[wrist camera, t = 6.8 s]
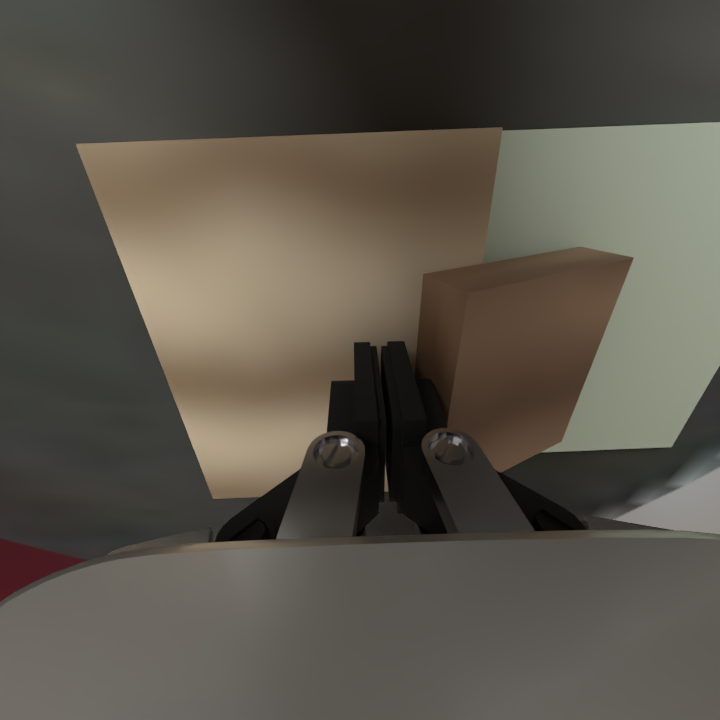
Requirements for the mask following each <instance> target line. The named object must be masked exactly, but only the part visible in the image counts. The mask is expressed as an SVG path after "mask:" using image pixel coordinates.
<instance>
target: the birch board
mask: <svg viewBox="0 0 720 720" xmlns="http://www.w3.org/2000/svg"><path fill="white" fill-rule="evenodd" d="M502 129H503V127H496V128H470V129H445V130H420V131H394V132H369V133H344V134H318V135H293V136H268V137H242V138H217V139H192V140H166V141H141V142H116V143H90V144H76V146H77V149H78V152H79V154H80V157H81V159H82V162H83V164H84V167H85V170H86V172H87V175H88V177H89V180H90V183H91V185H92V188H93V190H94V193H95V195H96V198H97V201H98V203H99V206H100V208H101V211H102V213H103V216H104V219H105V221H106V224H107V226H108V229H109V231H110V234H111V237H112V239H113V242H114V244H115V247H116V250H117V252H118V255H119V257H120V260H121V262H122V265H123V268H124V270H125V273H126V275H127V278H128V280H129V283H130V286H131V288H132V291H133V293H134V296H135V299H136V301H137V304H138V306H139V309H140V311H141V314H142V317H143V319H144V322H145V324H146V327H147V329H148V332H149V335H150V337H151V340H152V342H153V345H154V347H155V350H156V353H157V355H158V358H159V360H160V363H161V366H162V368H163V371H164V373H165V376H166V378H167V381H168V384H169V386H170V389H171V391H172V394H173V396H174V399H175V402H176V404H177V407H178V409H179V412H180V415H181V417H182V420H183V422H184V425H185V427H186V430H187V433H188V435H189V438H190V440H191V443H192V445H193V448H194V451H195V453H196V456H197V458H198V461H199V464H200V466H201V469H202V471H203V474H204V476H205V479H206V482H207V484H208V487H209V489H210V492H211V494H212V497H213V499H219V498H243V497H262V496H263V495H264V494H266V493H267V492H269V491H270V490H271V489H273V488H274V487H276V486H277V485H278V484H280V483H281V482H282V481H284V480H285V479H287V478H288V477H289V476H291V475H292V474H294V473H295V472H296V471H298V470H299V469H301V466H302V463H303V460H304V457H305V454H306V452H307V449H308V447H309V445H310V443H311V442H312V441H313V440H314V439H315V438H316V437H318V436H320V435H322V434H324V433H327V423H328V411H329V400H330V389H331V381H343V380H354V342H370V346H377V354H378V361H379V369H380V376H381V346H387V342H388V341H404V342H405V345H406V349H407V352H408V356H409V359H410V363H411V366H412V370H413V373H415V362H416V350H417V339H418V328H419V316H420V305H421V293H422V282H423V274H426V273H432V272H438V271H443V270H449V269H455V268H461V267H466V266H472V265H478V264H483V257H484V250H485V244H486V237H487V230H488V223H489V217H490V210H491V203H492V196H493V190H494V183H495V176H496V169H497V163H498V156H499V149H500V142H501V136H502ZM384 492H388V483H387V474H386V465H385V489H384Z"/></svg>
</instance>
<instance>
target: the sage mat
mask: <svg viewBox="0 0 720 720" xmlns="http://www.w3.org/2000/svg"><path fill="white" fill-rule="evenodd" d="M575 247H585V248H590V249H595V250H600V251H605V252H610V253H614V254H619V255H624V256H629V257H634V259H633V261H632V264H631V266H630V269H629V272H628V274H627V277H626V279H625V282H624V284H623V287H622V289H621V292H620V294H619V297H618V299H617V302H616V305H615V307H614V310H613V312H612V315H611V317H610V320H609V322H608V325H607V327H606V330H605V332H604V335H603V338H602V340H601V343H600V345H599V348H598V350H597V353H596V355H595V358H594V360H593V363H592V366H591V368H590V371H589V373H588V376H587V378H586V381H585V383H584V386H583V388H582V391H581V393H580V396H579V399H578V401H577V404H576V406H575V409H574V411H573V414H572V416H571V419H570V421H569V424H568V426H567V429H566V432H565V434H564V437H563V439H562V442H560V443H558V444H556V445H554V446H552V447H550V448H548V449H546V450H544V451H542V452H564V451H588V450H613V449H637V448H661V447H672V445H673V444H674V442H675V440H676V439H677V437H678V435H679V434H680V432H681V430H682V428H683V427H684V425H685V423H686V422H687V420H688V418H689V417H690V415H691V413H692V412H693V410H694V408H695V406H696V405H697V403H698V401H699V400H700V398H701V396H702V395H703V393H704V391H705V390H706V388H707V386H708V384H709V383H710V381H711V379H712V378H713V376H714V374H715V373H716V371H717V369H718V368H719V366H720V122H711V123H685V124H660V125H635V126H609V127H584V128H559V129H533V130H508V131H502V136H501V142H500V149H499V156H498V163H497V169H496V176H495V183H494V190H493V196H492V203H491V210H490V217H489V223H488V230H487V237H486V244H485V250H484V257H483V264H484V263H489V262H495V261H501V260H506V259H512V258H518V257H524V256H529V255H535V254H541V253H547V252H552V251H558V250H564V249H570V248H575Z"/></svg>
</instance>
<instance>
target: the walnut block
mask: <svg viewBox="0 0 720 720" xmlns="http://www.w3.org/2000/svg"><path fill="white" fill-rule="evenodd" d="M633 259H634V257H629V256H624V255H619V254H614V253H610V252H605V251H600V250H595V249H590V248H585V247H575V248H570V249H564V250H558V251H552V252H547V253H541V254H535V255H529V256H524V257H518V258H512V259H506V260H501V261H495V262H489V263H484V264H478V265H472V266H466V267H461V268H455V269H449V270H443V271H438V272H432V273H426V274H423V282H422V293H421V305H420V316H419V328H418V339H417V350H416V362H415V373H414V377H415V379H420V378H429V379H431V382H432V384H433V387H434V390H435V393H436V395H437V398H438V401H439V404H440V407H441V409H442V412H443V415H444V418H445V421H446V424H447V426H448V428H451V429H457V430H460V431H462V432H465V433H466V434H468V435H469V436H471V437H472V438H473V439H474V440H475V441H476V442H477V443H478V444H479V446H480V448H481V449H482V451H483V452H484V454H485V455H486V457H487V458H488V460H489V461H490V463H491V464H492V466H493V467H494V469H495V470H497V471H498V472H500V473H501V472H503V471H505V470H507V469H509V468H511V467H513V466H515V465H517V464H519V463H521V462H523V461H524V460H526V459H528V458H530V457H532V456H534V455H536V454H538V453H540V452H542V451H544V450H546V449H548V448H550V447H552V446H554V445H556V444H558V443H560V442H562V439H563V437H564V434H565V432H566V429H567V426H568V424H569V421H570V419H571V416H572V414H573V411H574V409H575V406H576V404H577V401H578V399H579V396H580V393H581V391H582V388H583V386H584V383H585V381H586V378H587V376H588V373H589V371H590V368H591V366H592V363H593V360H594V358H595V355H596V353H597V350H598V348H599V345H600V343H601V340H602V338H603V335H604V332H605V330H606V327H607V325H608V322H609V320H610V317H611V315H612V312H613V310H614V307H615V305H616V302H617V299H618V297H619V294H620V292H621V289H622V287H623V284H624V282H625V279H626V277H627V274H628V272H629V269H630V266H631V264H632V261H633Z"/></svg>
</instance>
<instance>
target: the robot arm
mask: <svg viewBox="0 0 720 720" xmlns="http://www.w3.org/2000/svg"><path fill="white" fill-rule="evenodd" d="M385 465H386V474H387V483H388V492H389V500H390V501H396V502H397V510H398V513H403V514H404V515H406V516H407V517H408V518H410V519H411V520H412V521H413V527H414V532H415V535H391V536H366V525H367V524H368V523H369V522H370V521H371V520H372V519H373V518H374V517H375V516H376V515H377V514H378V511H379V502H384V489H385ZM0 720H720V535H719V534H710V533H701V532H690V531H674V530H669V529H662V528H657V527H651V526H645V525H639V524H633V523H627V522H622V521H616V520H610V519H604V518H598V517H592V516H586V515H584V517H583V519H582V520H581V519H577V518H576V517H575V516H574V515H573V514H572V513H570V512H569V511H567V510H566V509H565V508H563V507H561V506H559V505H558V504H556V503H554V502H552V501H550V500H549V499H547V498H545V497H543V496H541V495H540V494H538V493H536V492H534V491H532V490H531V489H529V488H527V487H525V486H523V485H522V484H520V483H518V482H516V481H515V480H513V479H511V478H509V477H507V476H506V475H504V474H502V473H500V472H498V471H497V470H495V469H494V467H493V466H492V464H491V463H490V461H489V460H488V458H487V457H486V455H485V454H484V452H483V451H482V449H481V448H480V446H479V444H478V443H477V442H476V441H475V440H474V439H473V438H472V437H471V436H469V435H468V434H466V433H465V432H462V431H460V430H457V429H451V428H448V426H447V424H446V421H445V418H444V415H443V412H442V409H441V407H440V404H439V401H438V398H437V395H436V393H435V390H434V387H433V384H432V382H431V379H429V378H420V379H415V377H414V373H413V370H412V366H411V363H410V359H409V356H408V352H407V349H406V345H405V342H404V341H388V342H387V346H381V376H380V369H379V361H378V354H377V346H370V342H354V380H343V381H331V389H330V400H329V411H328V423H327V433H324V434H322V435H320V436H318V437H316V438H315V439H314V440H313V441H312V442H311V443H310V445H309V447H308V449H307V452H306V454H305V457H304V460H303V463H302V466H301V469H299V470H298V471H296V472H295V473H294V474H292V475H291V476H289V477H288V478H287V479H285V480H284V481H282V482H281V483H280V484H278V485H277V486H276V487H274V488H273V489H271V490H270V491H269V492H267V493H266V494H264V495H263V496H262V497H260V498H259V499H257V500H256V501H255V502H253V503H252V504H250V505H249V506H248V507H246V508H245V509H244V510H242V511H241V512H239V513H238V514H237V515H235V516H234V517H232V518H231V519H230V520H229V521H228V522H227V523H226V524H225V525H223V527H222V528H221V529H218V530H214V531H212V530H211V528H210V527H206V528H202V529H198V530H194V531H189V532H185V533H181V534H177V535H173V536H168V537H164V538H160V539H156V540H152V541H147V542H143V543H139V544H135V545H131V546H127V547H123V548H120V549H118V550H115V551H113V552H111V553H109V554H108V555H106V556H103V557H99V558H96V559H92V560H88V561H85V562H82V563H80V564H77V565H74V566H72V567H69V568H66V569H63V570H61V571H58V572H56V573H53V574H51V575H49V576H46V577H44V578H42V579H40V580H38V581H35V582H33V583H31V584H30V585H28V586H26V587H24V588H22V589H20V590H18V591H16V592H15V593H13V594H12V595H10V596H9V597H7V598H6V599H4V600H3V601H1V602H0Z"/></svg>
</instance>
